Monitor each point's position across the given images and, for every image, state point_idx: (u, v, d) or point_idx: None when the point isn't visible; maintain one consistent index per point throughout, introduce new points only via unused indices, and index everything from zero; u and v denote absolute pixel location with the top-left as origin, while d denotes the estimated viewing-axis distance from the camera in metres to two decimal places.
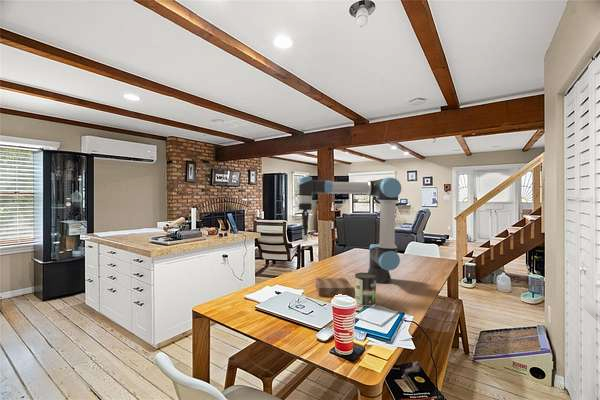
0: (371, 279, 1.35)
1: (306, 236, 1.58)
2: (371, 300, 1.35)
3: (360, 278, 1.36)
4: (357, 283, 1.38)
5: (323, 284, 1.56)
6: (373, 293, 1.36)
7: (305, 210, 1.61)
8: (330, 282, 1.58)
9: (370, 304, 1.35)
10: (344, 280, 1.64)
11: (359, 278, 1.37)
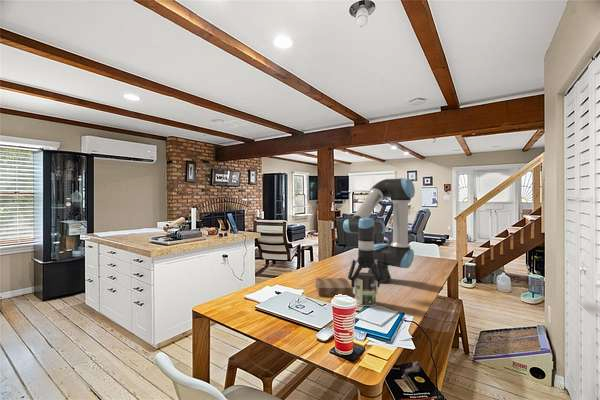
0: (371, 279, 1.35)
1: (354, 288, 1.39)
2: (371, 300, 1.35)
3: (360, 278, 1.36)
4: (357, 283, 1.38)
5: (323, 284, 1.56)
6: (373, 293, 1.36)
7: None
8: (330, 282, 1.58)
9: (370, 304, 1.35)
10: (344, 280, 1.64)
11: (359, 278, 1.37)
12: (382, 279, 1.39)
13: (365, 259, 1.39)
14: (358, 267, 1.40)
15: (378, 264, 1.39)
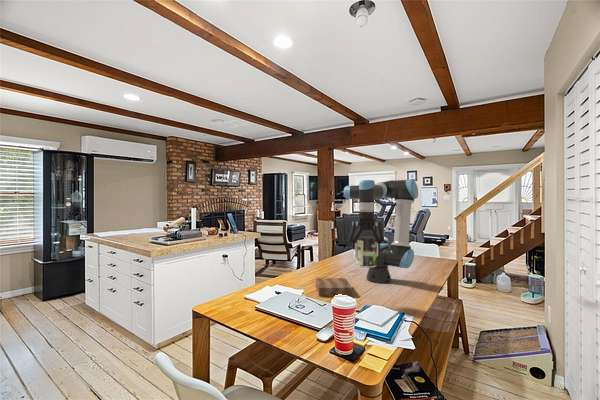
0: (372, 240, 1.35)
1: (354, 250, 1.39)
2: (372, 261, 1.35)
3: (361, 239, 1.36)
4: (358, 245, 1.38)
5: (323, 284, 1.56)
6: (374, 254, 1.36)
7: None
8: (330, 282, 1.58)
9: (371, 265, 1.35)
10: (344, 280, 1.64)
11: (360, 239, 1.37)
12: (383, 241, 1.39)
13: (366, 221, 1.39)
14: (359, 229, 1.40)
15: (379, 226, 1.39)
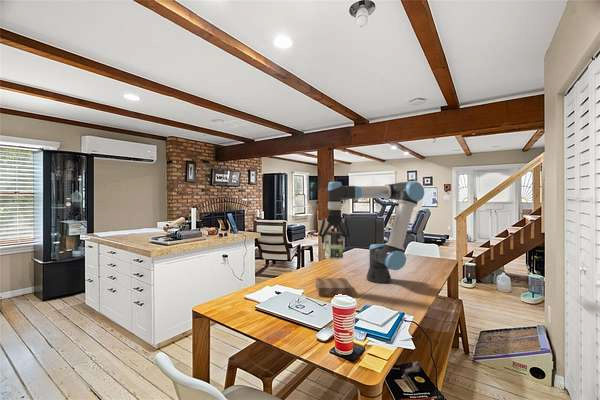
0: (338, 234, 1.53)
1: (324, 244, 1.57)
2: (338, 253, 1.54)
3: (328, 234, 1.54)
4: (326, 239, 1.56)
5: (323, 284, 1.56)
6: (340, 247, 1.54)
7: (327, 217, 1.58)
8: (330, 282, 1.58)
9: (337, 256, 1.53)
10: (344, 280, 1.64)
11: (328, 234, 1.55)
12: None
13: (333, 218, 1.57)
14: (327, 225, 1.58)
15: (345, 222, 1.57)
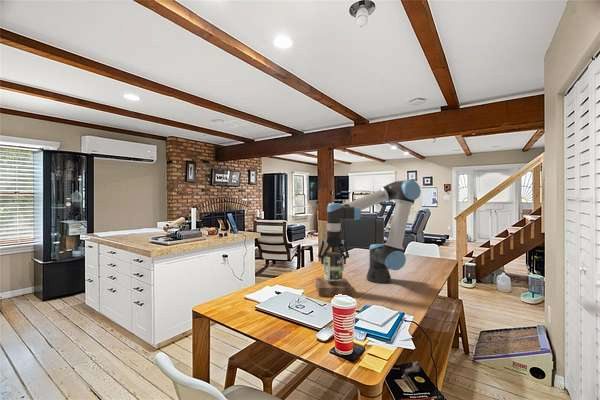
0: (337, 256, 1.54)
1: (323, 265, 1.58)
2: (337, 275, 1.54)
3: (328, 256, 1.55)
4: (326, 260, 1.56)
5: (323, 284, 1.56)
6: (339, 269, 1.54)
7: None
8: (330, 282, 1.58)
9: (336, 278, 1.54)
10: (344, 280, 1.64)
11: (327, 256, 1.55)
12: (348, 257, 1.58)
13: (333, 239, 1.57)
14: (327, 246, 1.58)
15: (344, 244, 1.57)
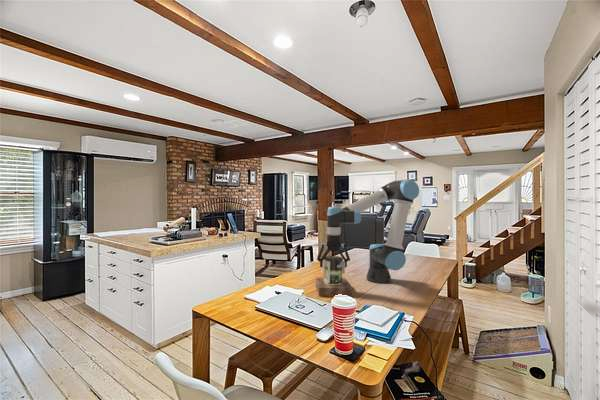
0: (337, 261, 1.54)
1: (322, 268, 1.58)
2: (337, 279, 1.54)
3: (328, 260, 1.55)
4: (326, 264, 1.56)
5: (323, 284, 1.56)
6: (339, 273, 1.54)
7: None
8: None
9: (336, 283, 1.54)
10: (344, 280, 1.64)
11: (327, 260, 1.55)
12: (349, 260, 1.58)
13: (333, 243, 1.57)
14: (326, 250, 1.58)
15: (344, 247, 1.57)
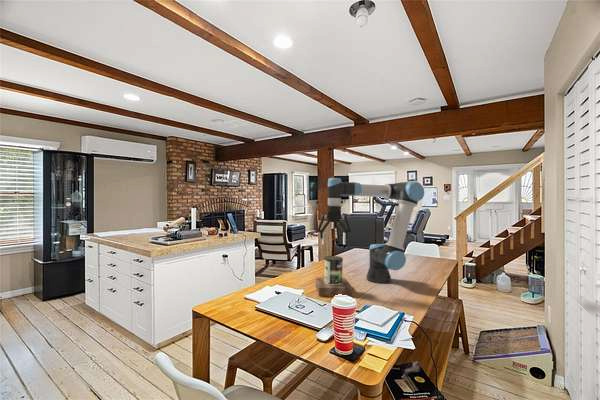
0: (337, 261, 1.54)
1: (322, 239, 1.57)
2: (337, 279, 1.54)
3: (328, 260, 1.55)
4: (326, 265, 1.56)
5: (323, 284, 1.56)
6: (339, 273, 1.54)
7: (327, 213, 1.58)
8: None
9: (336, 283, 1.54)
10: (344, 280, 1.64)
11: (327, 260, 1.55)
12: (349, 231, 1.58)
13: (333, 214, 1.57)
14: (327, 221, 1.58)
15: (345, 218, 1.57)
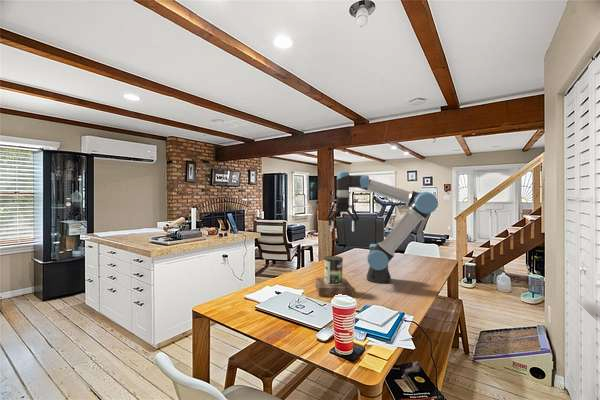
0: (337, 261, 1.54)
1: (331, 227, 1.74)
2: (337, 279, 1.54)
3: (328, 260, 1.55)
4: (326, 264, 1.56)
5: (323, 284, 1.56)
6: (339, 273, 1.55)
7: None
8: None
9: (336, 283, 1.54)
10: (344, 280, 1.64)
11: (327, 260, 1.55)
12: (358, 219, 1.74)
13: (342, 205, 1.73)
14: (336, 211, 1.74)
15: (353, 208, 1.74)
